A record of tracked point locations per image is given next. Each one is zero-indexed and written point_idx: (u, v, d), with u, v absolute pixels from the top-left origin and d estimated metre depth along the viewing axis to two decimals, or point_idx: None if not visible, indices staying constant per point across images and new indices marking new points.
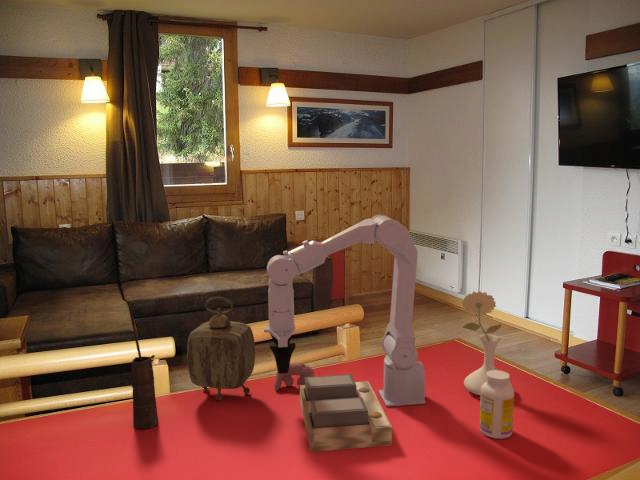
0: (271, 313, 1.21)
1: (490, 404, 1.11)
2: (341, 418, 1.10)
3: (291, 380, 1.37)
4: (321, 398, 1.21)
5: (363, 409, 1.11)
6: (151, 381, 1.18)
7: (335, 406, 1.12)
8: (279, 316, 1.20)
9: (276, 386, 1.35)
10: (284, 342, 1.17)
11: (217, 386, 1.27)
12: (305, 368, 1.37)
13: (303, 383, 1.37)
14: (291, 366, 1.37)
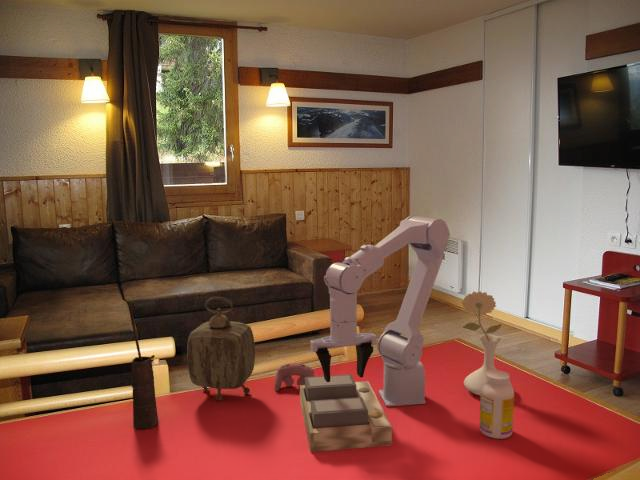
0: None
1: (490, 404, 1.11)
2: (341, 418, 1.10)
3: (291, 380, 1.37)
4: (321, 398, 1.21)
5: (363, 409, 1.11)
6: (151, 381, 1.18)
7: (335, 406, 1.12)
8: (330, 323, 1.17)
9: (276, 386, 1.34)
10: (311, 346, 1.16)
11: (217, 386, 1.27)
12: (305, 368, 1.37)
13: (303, 383, 1.37)
14: (291, 367, 1.36)
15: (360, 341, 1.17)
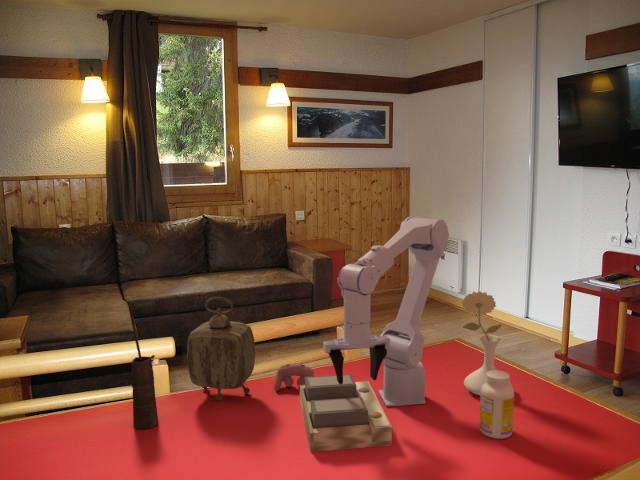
0: None
1: (490, 404, 1.11)
2: (341, 418, 1.10)
3: (291, 381, 1.37)
4: (321, 398, 1.21)
5: (363, 409, 1.11)
6: (151, 381, 1.18)
7: (335, 406, 1.12)
8: None
9: (276, 387, 1.34)
10: (324, 347, 1.15)
11: (217, 386, 1.27)
12: (305, 368, 1.36)
13: (303, 384, 1.36)
14: (291, 367, 1.36)
15: (373, 343, 1.16)
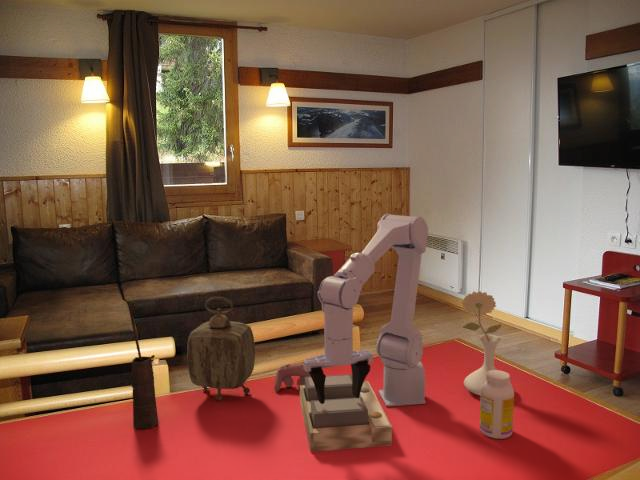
0: None
1: (490, 404, 1.11)
2: (341, 418, 1.10)
3: (291, 381, 1.37)
4: None
5: (363, 409, 1.11)
6: (151, 381, 1.18)
7: (335, 406, 1.12)
8: None
9: (276, 387, 1.34)
10: (305, 365, 1.08)
11: (217, 386, 1.27)
12: None
13: (303, 384, 1.36)
14: (291, 367, 1.36)
15: (356, 360, 1.10)
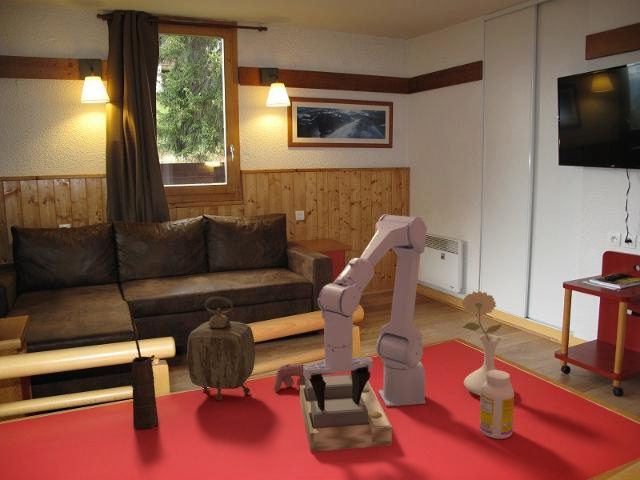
0: None
1: (490, 404, 1.11)
2: (341, 418, 1.10)
3: (291, 381, 1.37)
4: None
5: (363, 409, 1.11)
6: (151, 381, 1.18)
7: (335, 406, 1.12)
8: None
9: (276, 387, 1.34)
10: (305, 373, 1.08)
11: (217, 386, 1.27)
12: None
13: (303, 384, 1.36)
14: (291, 367, 1.36)
15: (356, 367, 1.10)
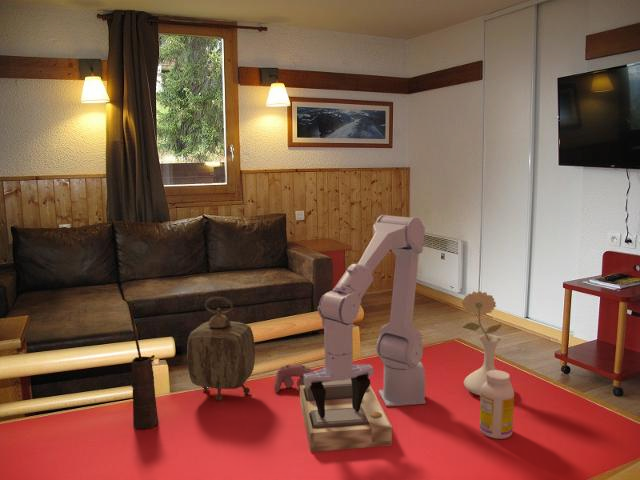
0: None
1: (490, 404, 1.11)
2: None
3: (291, 381, 1.36)
4: None
5: (363, 419, 1.11)
6: (151, 381, 1.18)
7: (335, 416, 1.12)
8: None
9: (276, 388, 1.34)
10: (305, 380, 1.09)
11: (217, 386, 1.27)
12: (305, 369, 1.36)
13: (303, 384, 1.36)
14: (291, 368, 1.36)
15: (356, 374, 1.10)
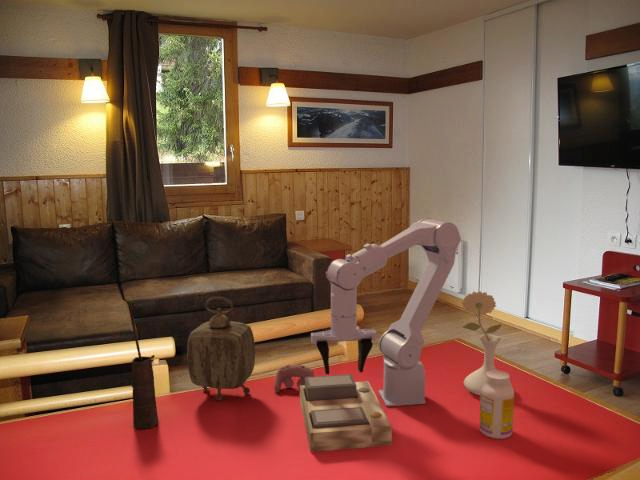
0: None
1: (490, 404, 1.11)
2: None
3: (291, 382, 1.36)
4: (321, 398, 1.21)
5: (363, 419, 1.11)
6: (151, 381, 1.18)
7: (335, 416, 1.12)
8: None
9: (276, 388, 1.34)
10: (311, 338, 1.21)
11: (217, 386, 1.27)
12: (305, 369, 1.36)
13: None
14: (291, 368, 1.36)
15: (359, 337, 1.20)
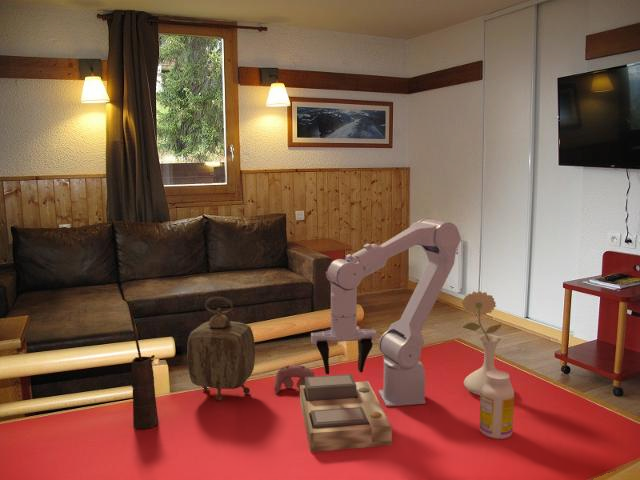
0: None
1: (490, 404, 1.11)
2: None
3: (291, 382, 1.36)
4: (321, 398, 1.21)
5: (363, 419, 1.11)
6: (151, 381, 1.18)
7: (335, 416, 1.12)
8: None
9: (276, 388, 1.33)
10: (311, 338, 1.21)
11: (217, 386, 1.27)
12: (305, 370, 1.36)
13: None
14: (291, 369, 1.35)
15: (359, 337, 1.20)
